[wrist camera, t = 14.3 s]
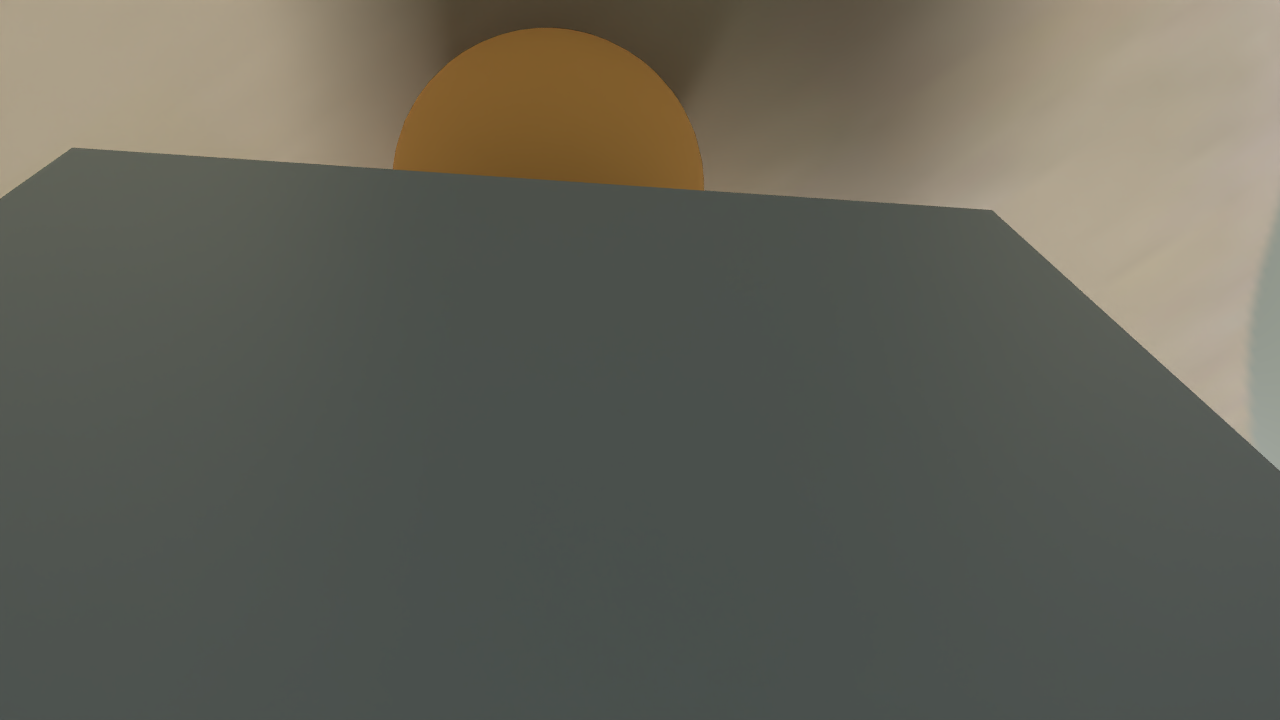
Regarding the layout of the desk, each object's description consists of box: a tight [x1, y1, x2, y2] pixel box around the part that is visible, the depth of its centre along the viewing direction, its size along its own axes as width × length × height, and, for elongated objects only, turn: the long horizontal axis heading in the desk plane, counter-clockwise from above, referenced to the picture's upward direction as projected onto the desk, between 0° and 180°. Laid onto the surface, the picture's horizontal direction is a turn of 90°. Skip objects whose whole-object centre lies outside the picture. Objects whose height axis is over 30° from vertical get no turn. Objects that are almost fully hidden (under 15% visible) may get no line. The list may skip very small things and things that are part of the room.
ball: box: [393, 28, 704, 191], centre depth 19 cm, size 5×5×5 cm
